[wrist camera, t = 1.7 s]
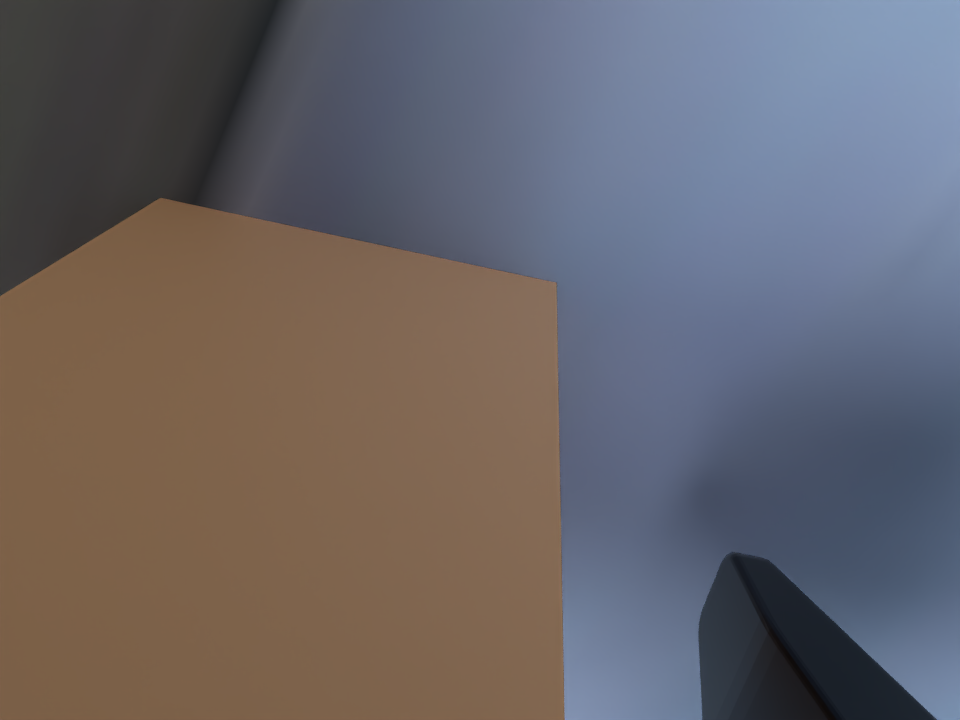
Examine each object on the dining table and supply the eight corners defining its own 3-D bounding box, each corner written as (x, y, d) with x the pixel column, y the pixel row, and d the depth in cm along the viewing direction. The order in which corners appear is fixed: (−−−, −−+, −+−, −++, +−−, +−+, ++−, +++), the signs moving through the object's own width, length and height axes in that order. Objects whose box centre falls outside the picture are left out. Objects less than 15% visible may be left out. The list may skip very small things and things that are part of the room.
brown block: (555, 282, 10) (567, 916, 3) (479, 589, 11) (391, 1360, 5) (161, 198, 9) (-621, 679, 3) (149, 521, 11) (-349, 1218, 5)
